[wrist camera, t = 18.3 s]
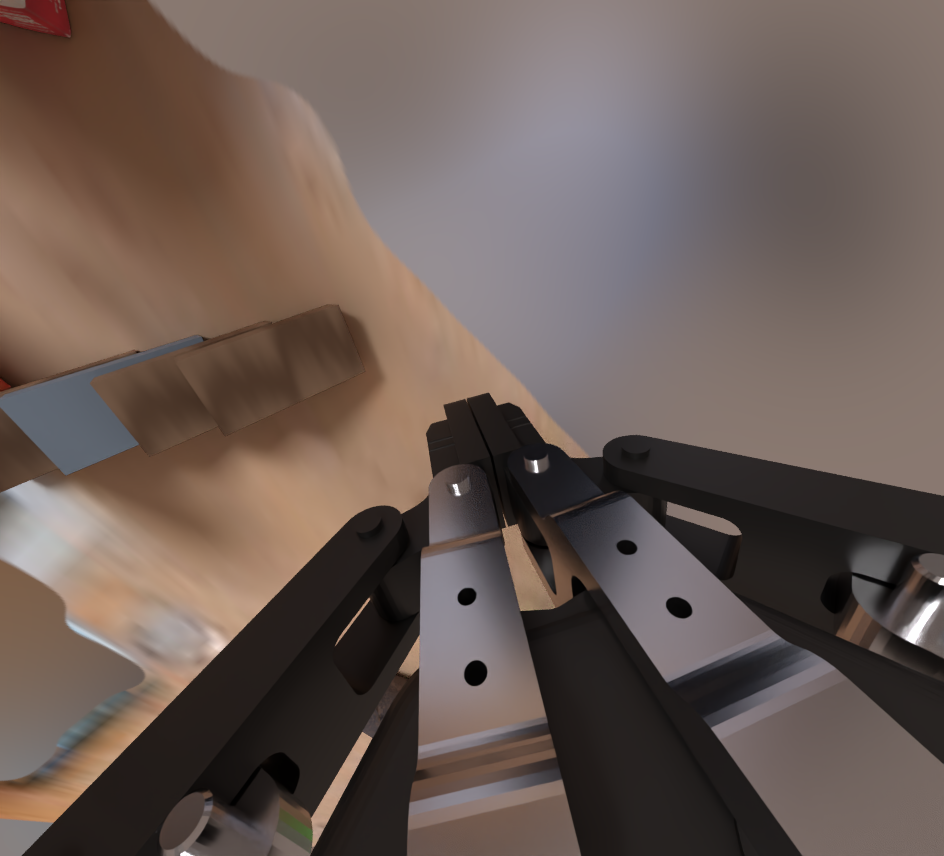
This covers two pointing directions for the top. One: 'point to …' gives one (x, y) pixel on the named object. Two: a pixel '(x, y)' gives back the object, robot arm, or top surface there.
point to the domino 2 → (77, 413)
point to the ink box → (37, 15)
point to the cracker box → (4, 385)
